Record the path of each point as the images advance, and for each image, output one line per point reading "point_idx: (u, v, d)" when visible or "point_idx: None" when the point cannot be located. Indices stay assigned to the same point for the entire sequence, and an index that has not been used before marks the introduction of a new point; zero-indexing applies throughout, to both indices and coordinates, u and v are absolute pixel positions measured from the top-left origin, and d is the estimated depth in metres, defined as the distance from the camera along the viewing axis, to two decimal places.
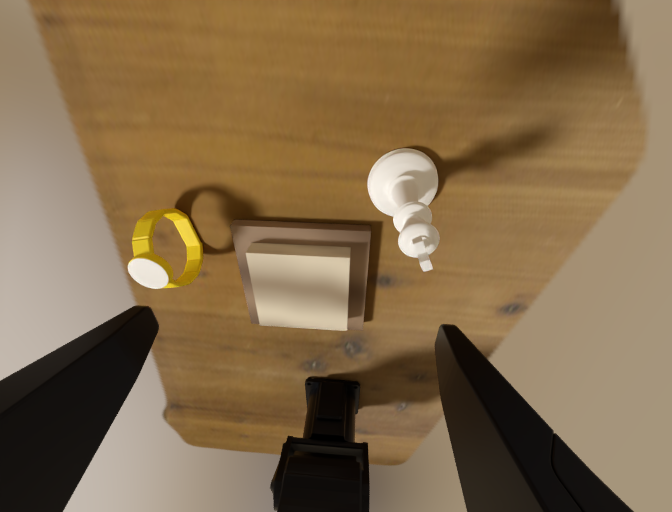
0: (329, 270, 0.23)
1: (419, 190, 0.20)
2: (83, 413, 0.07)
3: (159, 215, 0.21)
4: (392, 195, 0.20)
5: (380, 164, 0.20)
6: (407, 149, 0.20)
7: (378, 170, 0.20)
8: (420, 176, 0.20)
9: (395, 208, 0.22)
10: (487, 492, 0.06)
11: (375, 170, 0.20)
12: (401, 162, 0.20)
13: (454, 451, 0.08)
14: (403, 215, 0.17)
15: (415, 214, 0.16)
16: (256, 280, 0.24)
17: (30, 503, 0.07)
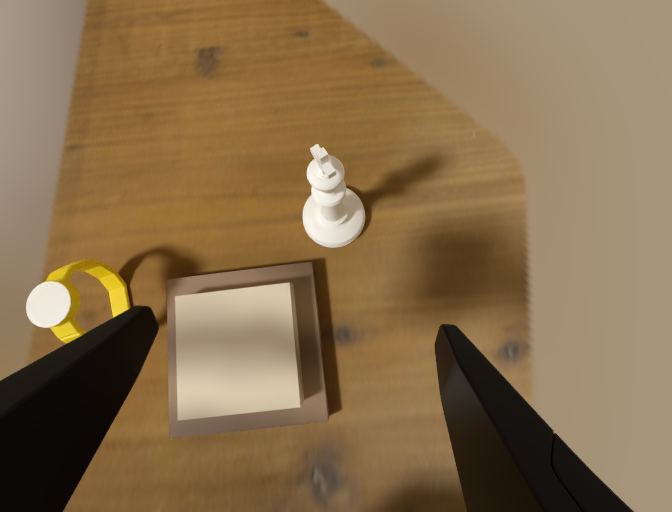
0: (268, 304, 0.20)
1: (345, 205, 0.22)
2: (83, 413, 0.07)
3: (93, 261, 0.21)
4: (321, 211, 0.22)
5: (309, 198, 0.23)
6: None
7: (308, 202, 0.23)
8: (344, 199, 0.23)
9: (330, 232, 0.22)
10: (487, 492, 0.06)
11: (306, 203, 0.23)
12: None
13: (454, 451, 0.08)
14: None
15: None
16: (182, 335, 0.20)
17: (30, 503, 0.07)
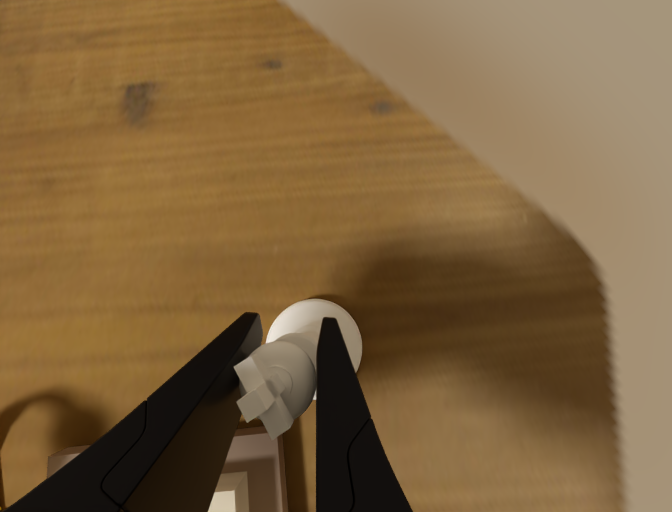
0: None
1: None
2: (220, 424, 0.07)
3: None
4: None
5: (275, 321, 0.15)
6: (309, 299, 0.16)
7: (273, 329, 0.15)
8: None
9: None
10: None
11: (270, 330, 0.15)
12: (300, 313, 0.15)
13: None
14: None
15: None
16: None
17: None
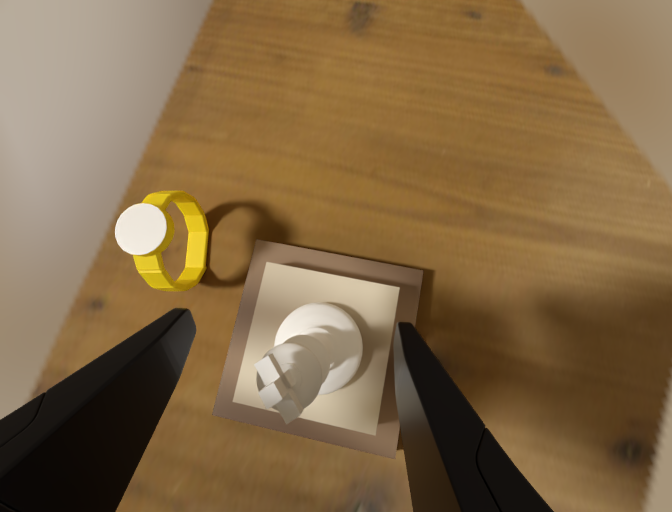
0: (369, 304, 0.17)
1: (332, 344, 0.15)
2: (132, 417, 0.07)
3: (189, 196, 0.19)
4: None
5: (283, 323, 0.17)
6: (314, 303, 0.17)
7: (281, 330, 0.16)
8: (333, 328, 0.16)
9: None
10: (424, 486, 0.06)
11: (278, 331, 0.16)
12: (306, 316, 0.16)
13: (404, 447, 0.08)
14: None
15: None
16: (263, 307, 0.17)
17: (84, 509, 0.06)
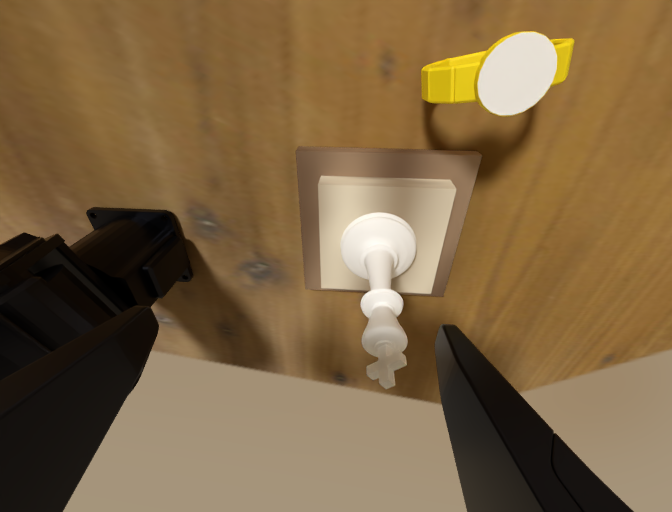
0: (416, 276, 0.21)
1: None
2: (83, 413, 0.07)
3: None
4: (373, 253, 0.18)
5: (397, 223, 0.18)
6: (415, 239, 0.19)
7: (390, 224, 0.18)
8: (396, 265, 0.19)
9: (353, 255, 0.19)
10: (487, 492, 0.06)
11: (389, 220, 0.18)
12: (405, 243, 0.18)
13: (454, 451, 0.08)
14: (387, 298, 0.15)
15: (393, 310, 0.15)
16: (408, 194, 0.18)
17: (29, 504, 0.07)
